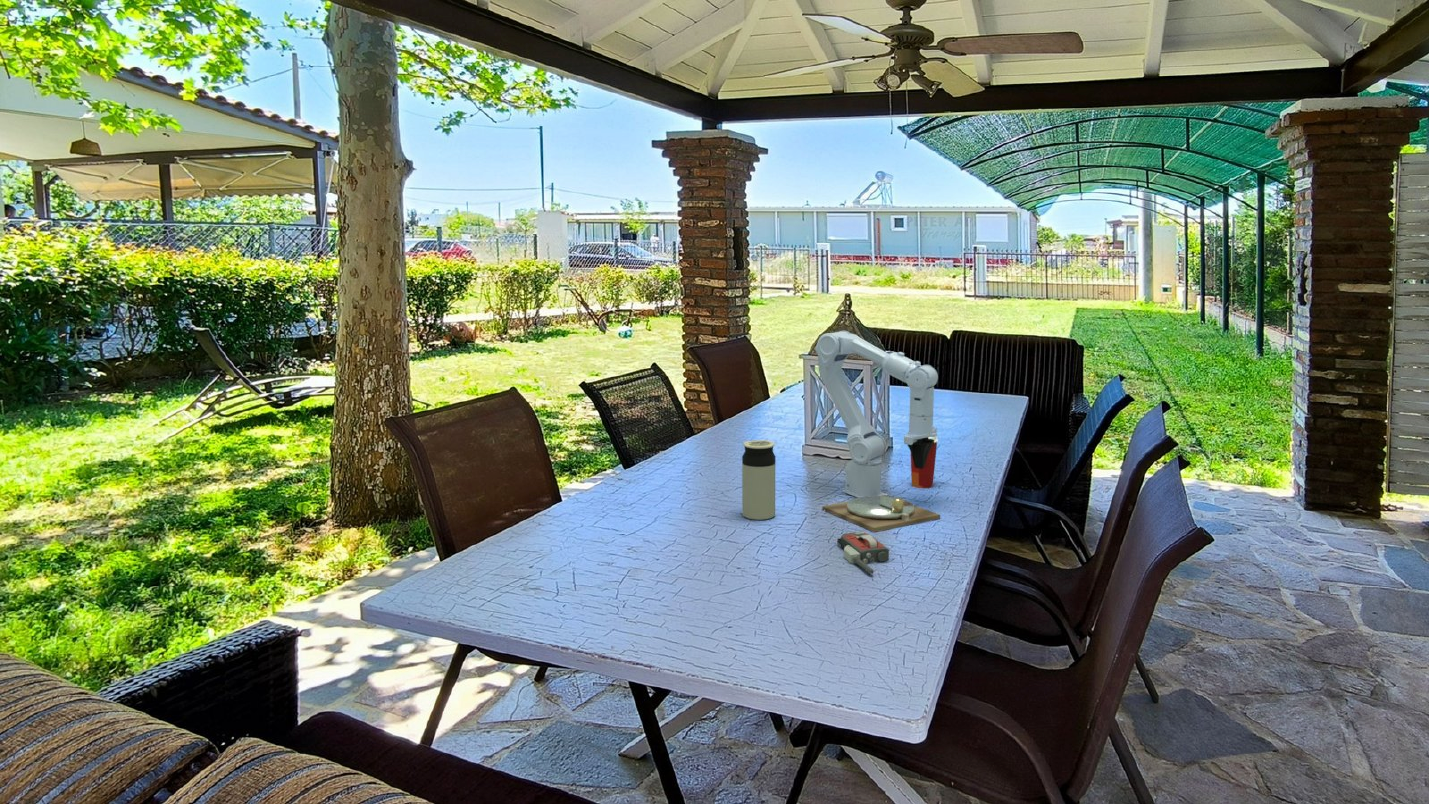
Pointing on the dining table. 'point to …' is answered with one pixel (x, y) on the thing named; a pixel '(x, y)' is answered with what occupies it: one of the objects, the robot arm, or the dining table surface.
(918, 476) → the paper cup
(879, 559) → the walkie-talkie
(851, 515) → the dial base
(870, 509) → the capstan dial
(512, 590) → the dining table surface
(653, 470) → the dining table surface
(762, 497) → the travel mug
